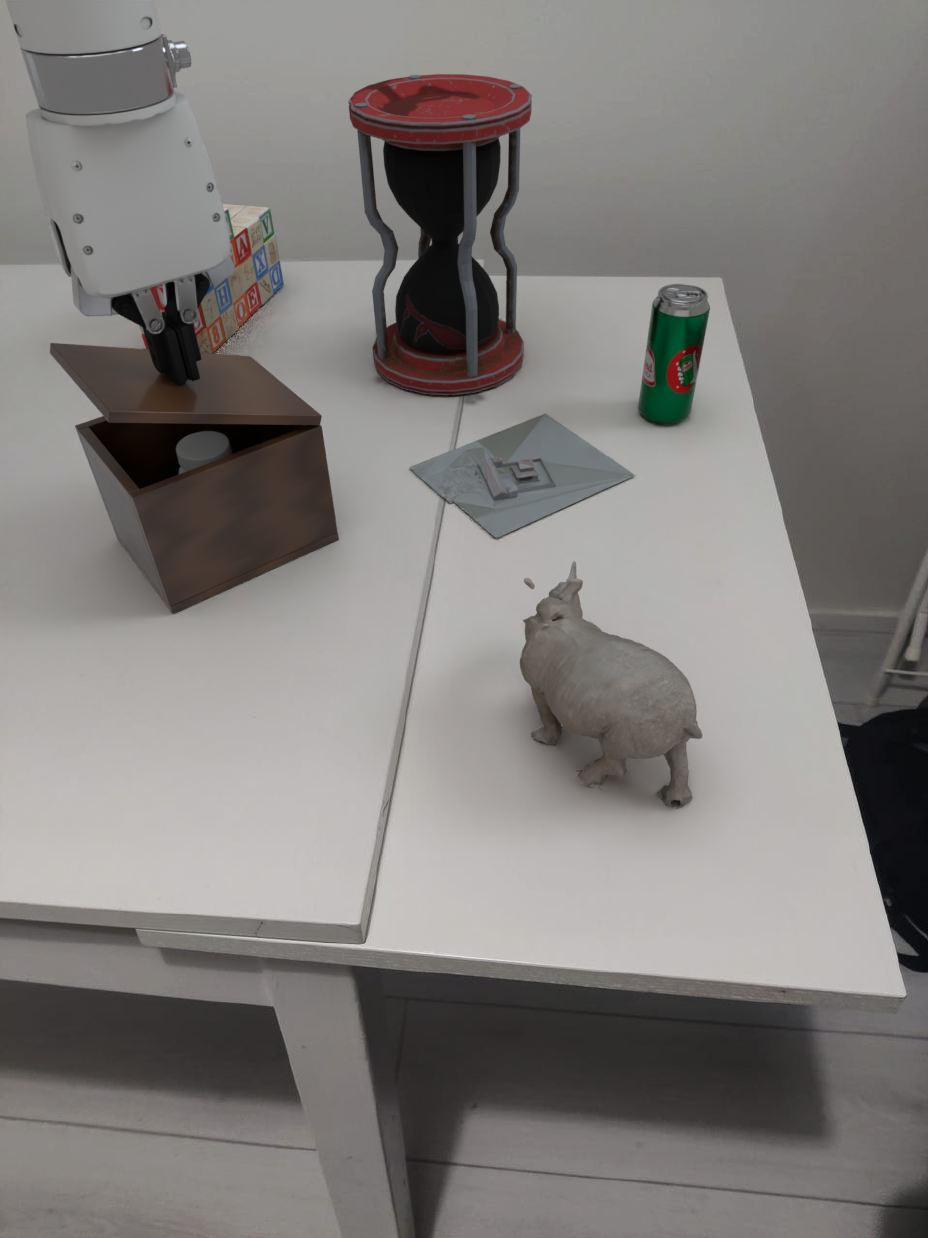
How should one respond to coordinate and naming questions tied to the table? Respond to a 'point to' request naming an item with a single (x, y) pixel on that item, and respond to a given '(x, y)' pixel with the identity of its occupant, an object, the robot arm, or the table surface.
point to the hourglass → (443, 226)
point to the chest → (211, 502)
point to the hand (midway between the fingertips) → (180, 374)
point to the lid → (181, 389)
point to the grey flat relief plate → (521, 474)
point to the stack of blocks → (237, 278)
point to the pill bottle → (201, 449)
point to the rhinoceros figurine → (607, 692)
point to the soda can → (673, 353)
